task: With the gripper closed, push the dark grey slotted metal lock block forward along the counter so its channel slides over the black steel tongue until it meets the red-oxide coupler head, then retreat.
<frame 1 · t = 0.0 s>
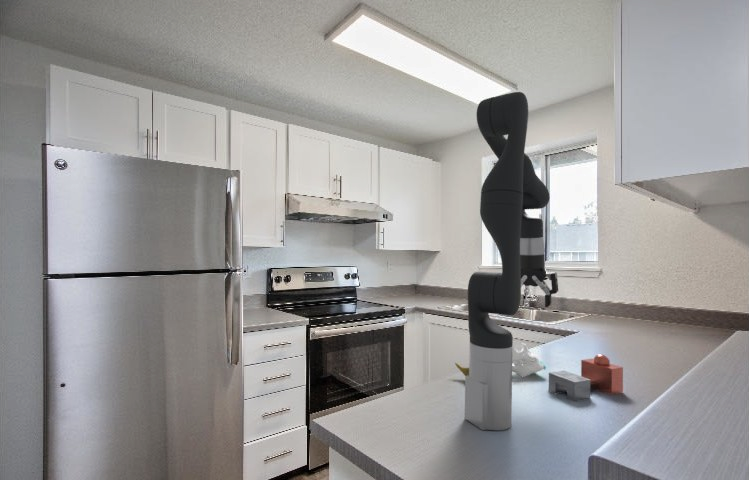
hand: (532, 305, 112), 22 cm above the counter, tool pointing down, fingers open, 8 cm apart
neti pot: (476, 383, 107), on the counter
jaw support: (522, 374, 117), on the counter
lock block: (568, 394, 100), on the counter
coupler: (588, 390, 103), on the counter
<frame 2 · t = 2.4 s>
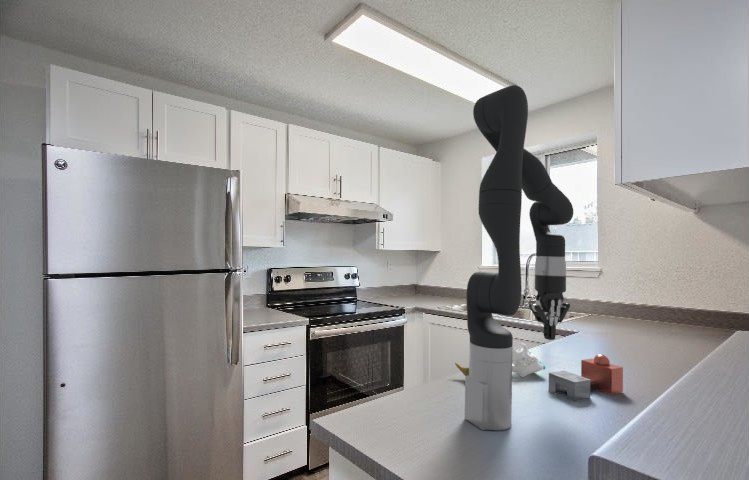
hand: (549, 339, 97), 15 cm above the counter, tool pointing down, fingers closed
nothing on the counter moved.
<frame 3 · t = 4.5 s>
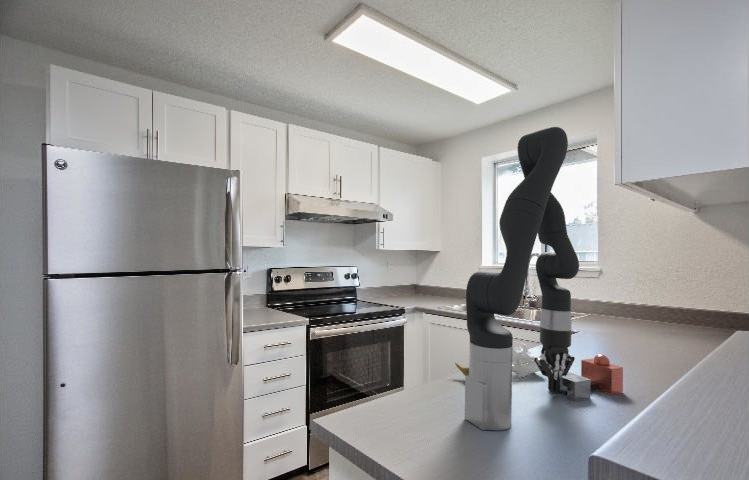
hand: (554, 392, 98), 1 cm above the counter, tool pointing down, fingers closed
lock block: (569, 394, 100), on the counter, touching gripper
everything else where it was.
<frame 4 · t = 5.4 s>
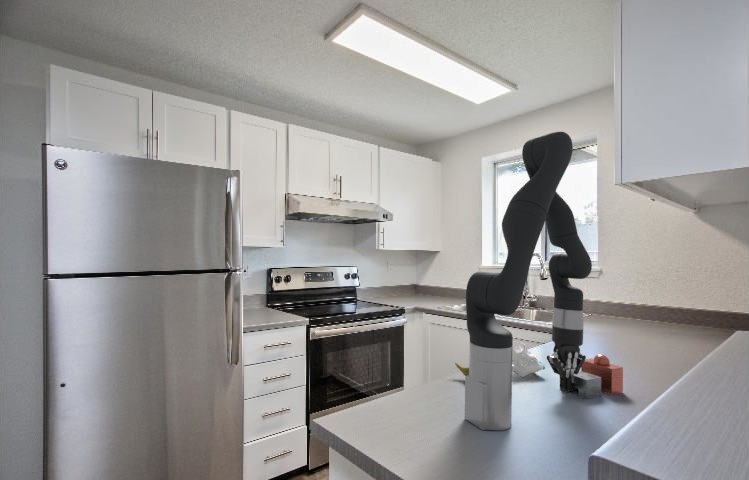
hand: (565, 390, 99), 1 cm above the counter, tool pointing down, fingers closed
lock block: (579, 392, 102), on the counter, touching gripper
everything else where it was.
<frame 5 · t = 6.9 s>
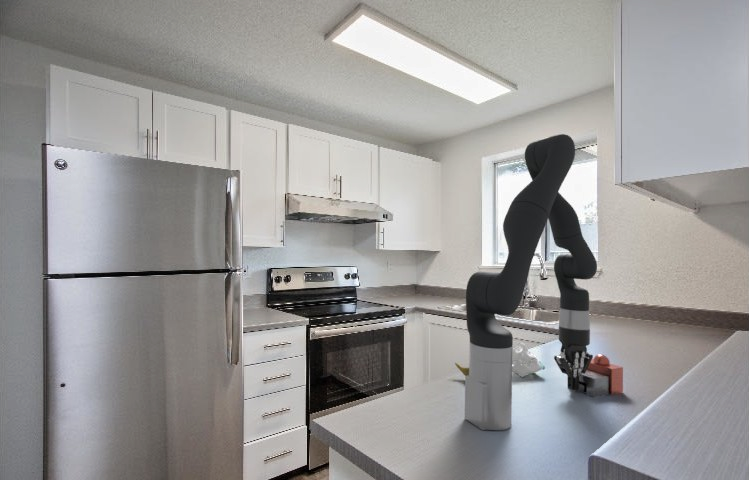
hand: (573, 389, 101), 1 cm above the counter, tool pointing down, fingers closed
lock block: (587, 391, 103), on the counter
everything else where it was.
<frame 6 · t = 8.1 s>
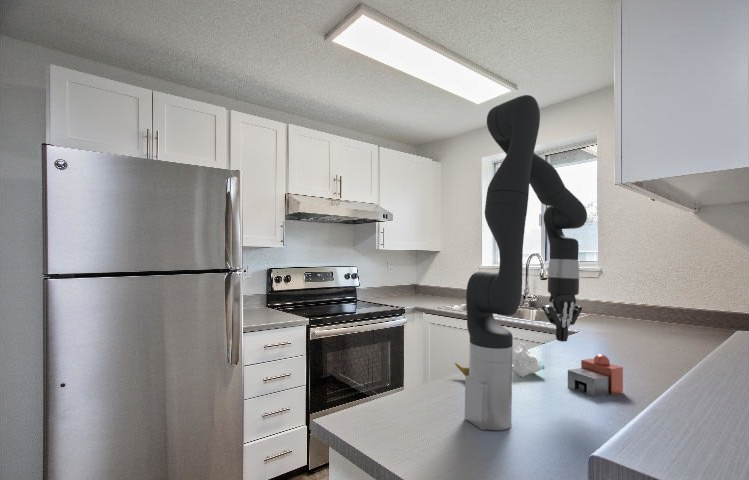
hand: (561, 340, 99), 15 cm above the counter, tool pointing down, fingers closed
nothing on the counter moved.
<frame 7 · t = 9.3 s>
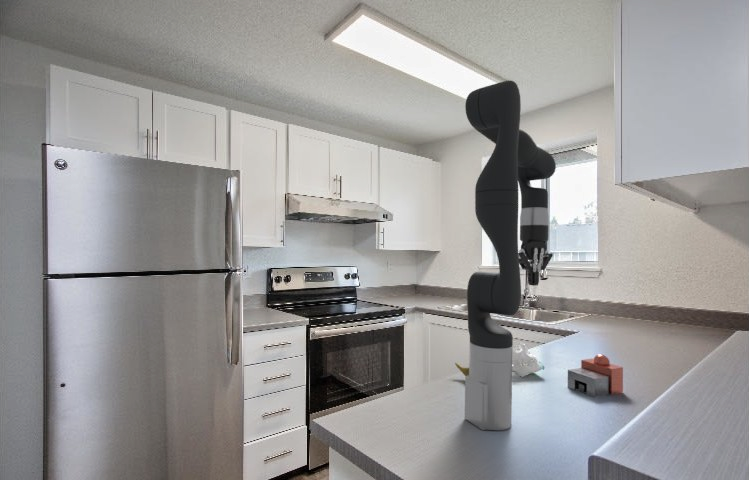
hand: (533, 285, 105), 29 cm above the counter, tool pointing down, fingers closed
nothing on the counter moved.
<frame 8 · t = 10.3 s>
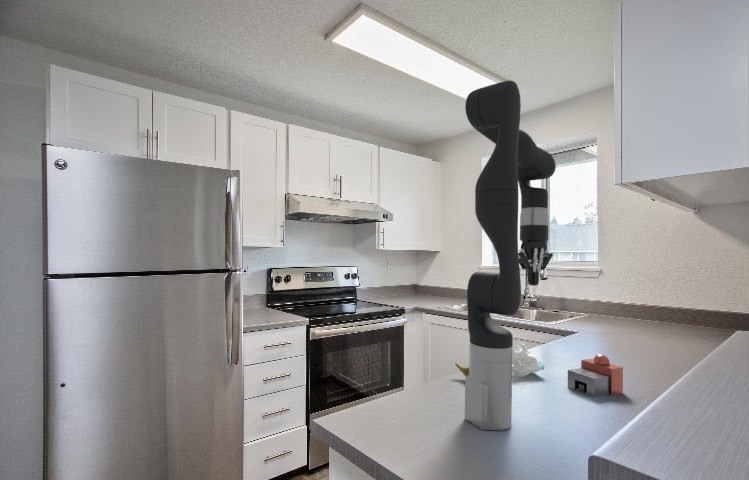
hand: (533, 285, 105), 29 cm above the counter, tool pointing down, fingers closed
nothing on the counter moved.
at the end: lock block 0.3 cm off-centre on the coupler, point 0.0 cm above the coupler's base; lock block tilted 0° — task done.
